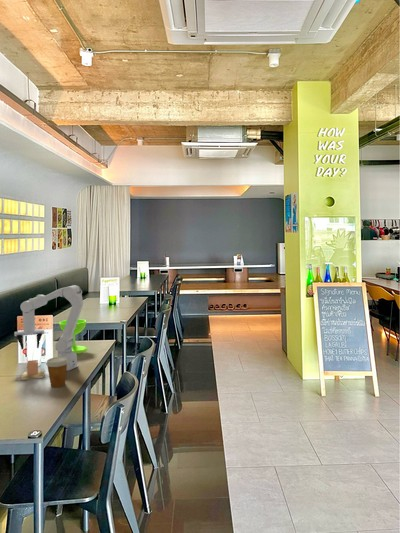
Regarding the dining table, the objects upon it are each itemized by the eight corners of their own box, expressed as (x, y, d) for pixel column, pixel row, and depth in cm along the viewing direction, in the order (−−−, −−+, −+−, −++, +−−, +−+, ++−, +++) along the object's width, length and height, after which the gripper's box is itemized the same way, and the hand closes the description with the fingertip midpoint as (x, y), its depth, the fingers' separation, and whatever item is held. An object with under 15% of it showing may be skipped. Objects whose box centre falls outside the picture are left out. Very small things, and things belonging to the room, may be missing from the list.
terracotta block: (38, 371, 204) (37, 359, 204) (37, 374, 200) (36, 362, 199) (28, 372, 203) (28, 360, 203) (27, 375, 199) (26, 363, 198)
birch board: (44, 373, 206) (44, 370, 206) (42, 377, 199) (42, 374, 199) (23, 375, 203) (23, 372, 203) (21, 379, 196) (20, 376, 196)
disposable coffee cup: (72, 382, 191) (71, 357, 191) (59, 389, 182) (58, 363, 182) (56, 380, 195) (55, 356, 194) (42, 387, 186) (41, 361, 185)
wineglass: (76, 345, 260) (75, 318, 259) (92, 349, 250) (91, 320, 249) (54, 351, 247) (53, 322, 246) (71, 355, 238) (69, 325, 236)
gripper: (12, 325, 209) (14, 351, 210) (42, 323, 213) (44, 348, 214) (15, 323, 216) (16, 348, 216) (44, 321, 220) (45, 345, 220)
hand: (30, 348), depth 215 cm, fingers open, 7 cm apart
